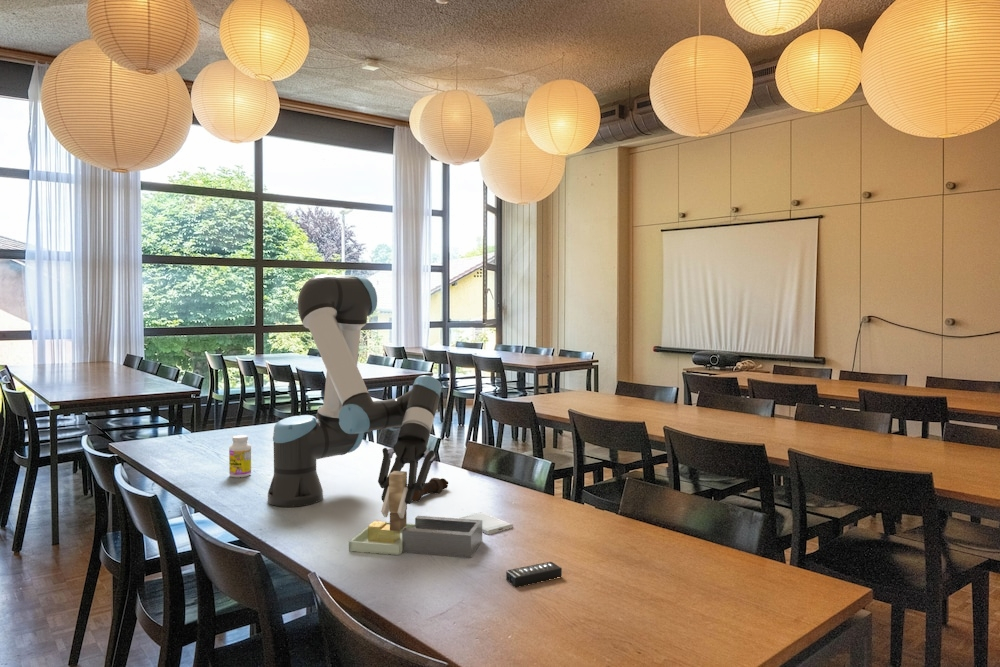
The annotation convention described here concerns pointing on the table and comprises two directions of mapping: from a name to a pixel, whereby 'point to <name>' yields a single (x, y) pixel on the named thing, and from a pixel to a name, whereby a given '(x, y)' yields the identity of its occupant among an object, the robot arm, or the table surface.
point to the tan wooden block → (388, 534)
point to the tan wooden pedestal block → (397, 499)
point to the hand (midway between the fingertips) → (392, 514)
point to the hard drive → (489, 523)
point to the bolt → (430, 488)
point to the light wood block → (375, 530)
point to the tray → (376, 543)
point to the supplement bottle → (240, 457)
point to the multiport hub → (533, 574)
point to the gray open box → (443, 536)
